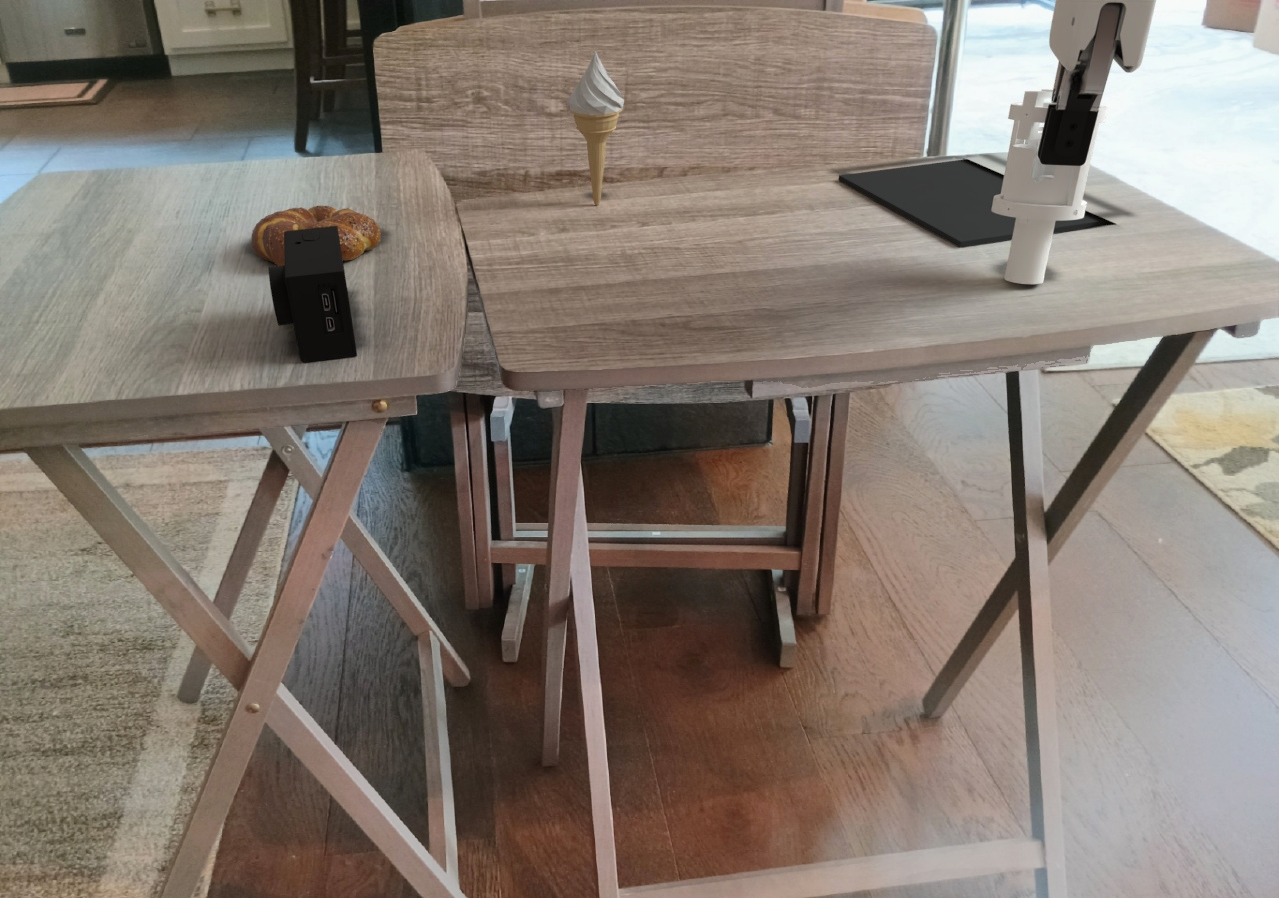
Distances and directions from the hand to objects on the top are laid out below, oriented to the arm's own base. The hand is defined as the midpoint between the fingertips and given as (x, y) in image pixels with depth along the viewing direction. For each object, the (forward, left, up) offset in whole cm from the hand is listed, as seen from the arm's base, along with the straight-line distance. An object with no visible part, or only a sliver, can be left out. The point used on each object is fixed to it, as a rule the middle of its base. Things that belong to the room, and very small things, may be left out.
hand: (1060, 161), depth 78 cm
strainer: (+3, -2, -11) cm, 12 cm away
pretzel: (+33, +54, -11) cm, 64 cm away
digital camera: (+14, +56, -11) cm, 59 cm away
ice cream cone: (+36, +25, -11) cm, 45 cm away
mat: (+23, -11, -11) cm, 28 cm away
